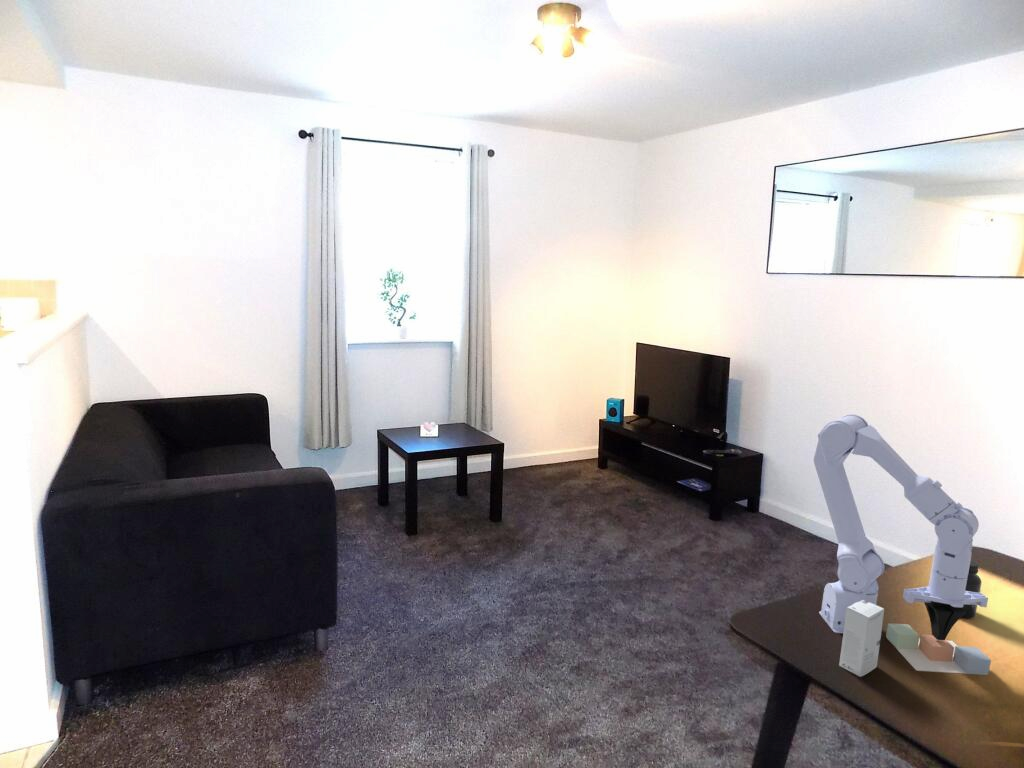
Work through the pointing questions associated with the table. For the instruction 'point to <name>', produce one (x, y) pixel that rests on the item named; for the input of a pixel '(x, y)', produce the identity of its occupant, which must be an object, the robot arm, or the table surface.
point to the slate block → (971, 660)
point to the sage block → (902, 636)
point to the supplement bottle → (972, 589)
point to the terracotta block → (936, 648)
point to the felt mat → (929, 661)
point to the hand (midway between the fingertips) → (938, 637)
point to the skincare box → (861, 637)
